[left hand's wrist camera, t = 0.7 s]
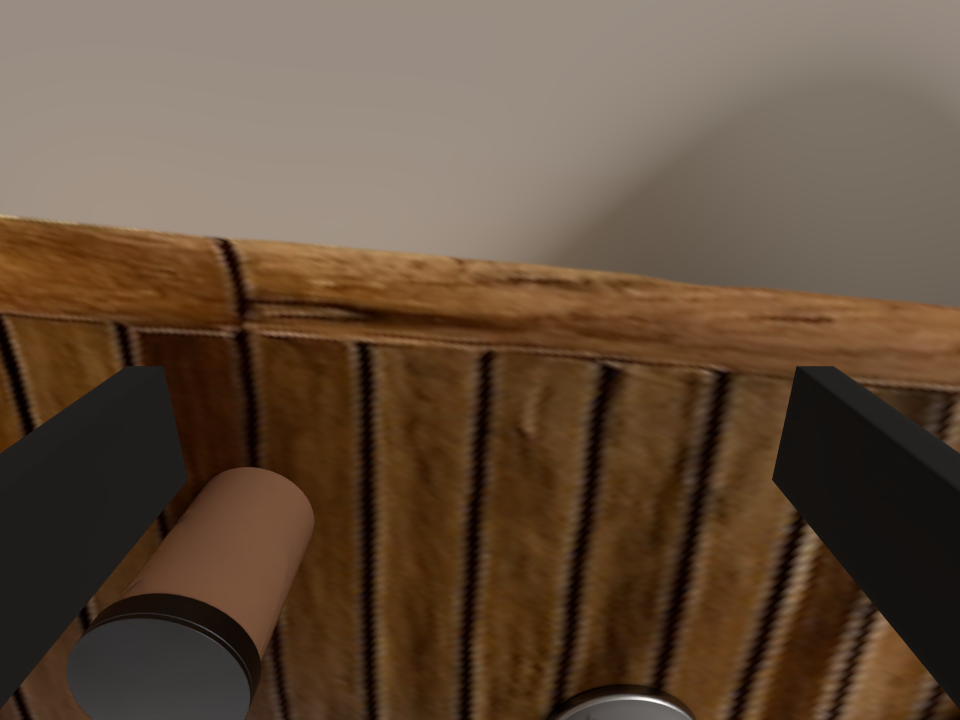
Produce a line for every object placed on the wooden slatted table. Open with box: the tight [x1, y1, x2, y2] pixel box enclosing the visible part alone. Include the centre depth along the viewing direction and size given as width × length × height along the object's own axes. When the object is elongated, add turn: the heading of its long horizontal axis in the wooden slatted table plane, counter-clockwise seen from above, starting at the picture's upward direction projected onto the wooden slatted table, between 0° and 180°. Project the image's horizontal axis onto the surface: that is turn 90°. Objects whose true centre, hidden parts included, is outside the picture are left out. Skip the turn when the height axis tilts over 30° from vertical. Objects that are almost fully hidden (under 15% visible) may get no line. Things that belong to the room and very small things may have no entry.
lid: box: [66, 593, 261, 720], centre depth 34 cm, size 10×10×2 cm
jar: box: [117, 467, 315, 661], centre depth 40 cm, size 9×9×15 cm
